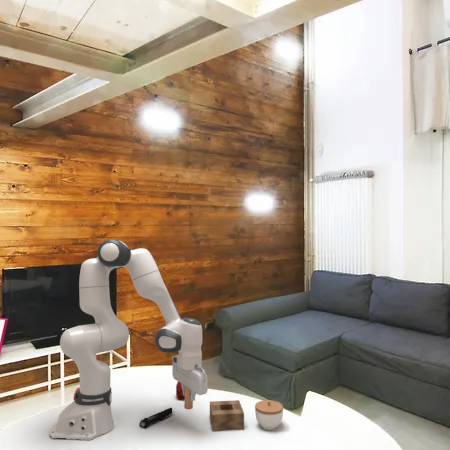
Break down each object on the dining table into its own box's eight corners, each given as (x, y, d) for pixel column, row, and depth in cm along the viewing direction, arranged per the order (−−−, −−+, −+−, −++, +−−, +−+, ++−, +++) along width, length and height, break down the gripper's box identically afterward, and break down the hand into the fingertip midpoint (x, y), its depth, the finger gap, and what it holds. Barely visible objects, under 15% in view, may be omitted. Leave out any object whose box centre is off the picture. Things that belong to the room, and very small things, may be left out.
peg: (182, 407, 149) (183, 381, 149) (188, 404, 151) (189, 378, 151) (188, 410, 147) (189, 383, 147) (194, 407, 149) (195, 381, 149)
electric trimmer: (174, 416, 159) (174, 408, 159) (144, 430, 146) (145, 421, 147) (168, 413, 161) (168, 405, 161) (138, 427, 149) (138, 418, 149)
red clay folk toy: (179, 402, 171) (180, 367, 172) (172, 396, 177) (173, 363, 178) (195, 398, 175) (195, 364, 176) (187, 393, 181) (187, 360, 182)
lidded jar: (251, 421, 153) (251, 397, 153) (276, 418, 156) (276, 394, 156) (260, 434, 143) (260, 408, 143) (287, 431, 146) (287, 405, 146)
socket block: (212, 431, 145) (212, 414, 145) (209, 416, 157) (209, 401, 157) (243, 429, 147) (244, 413, 147) (239, 415, 158) (239, 400, 159)
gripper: (212, 368, 143) (211, 406, 143) (183, 353, 159) (182, 387, 159) (197, 371, 139) (196, 410, 139) (170, 355, 155) (168, 390, 155)
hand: (188, 398), depth 149 cm, fingers closed on peg, 3 cm apart
